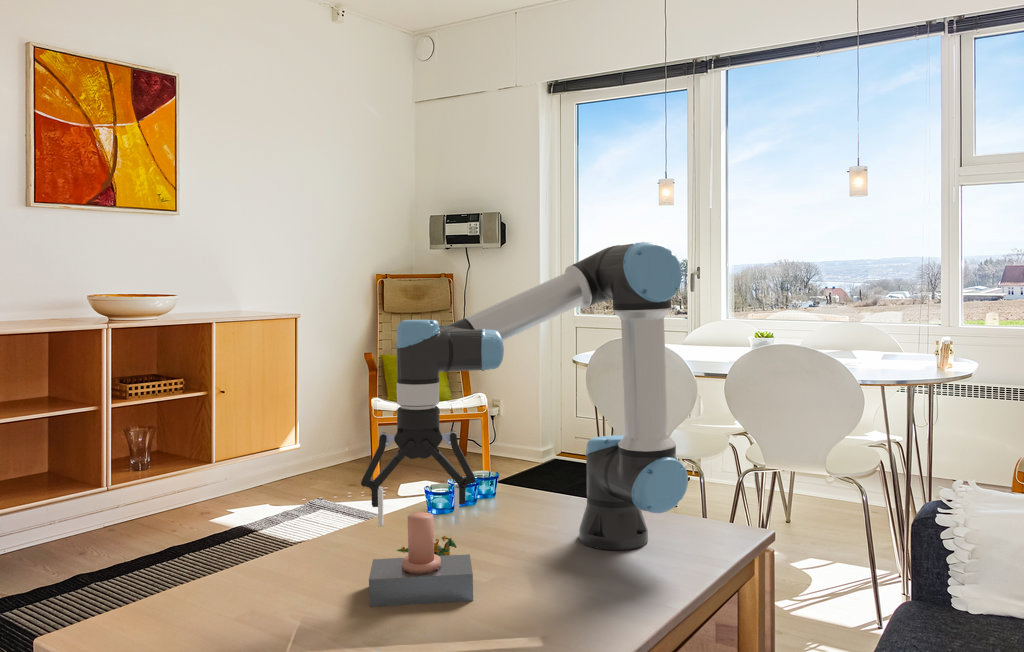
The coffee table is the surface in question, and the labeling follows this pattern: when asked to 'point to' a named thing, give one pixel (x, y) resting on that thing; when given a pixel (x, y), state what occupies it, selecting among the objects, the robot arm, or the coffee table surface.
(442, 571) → the housing
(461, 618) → the coffee table surface
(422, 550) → the flanged shaft
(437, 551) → the figurine
